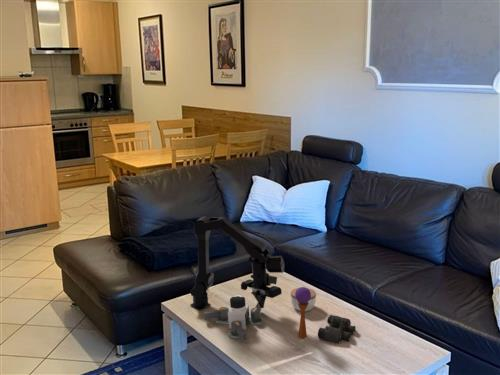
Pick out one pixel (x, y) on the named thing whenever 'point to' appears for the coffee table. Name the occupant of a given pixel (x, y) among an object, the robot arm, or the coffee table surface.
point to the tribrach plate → (238, 335)
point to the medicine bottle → (238, 311)
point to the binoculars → (336, 329)
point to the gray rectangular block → (238, 330)
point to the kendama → (302, 308)
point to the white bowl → (311, 301)
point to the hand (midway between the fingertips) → (262, 307)
